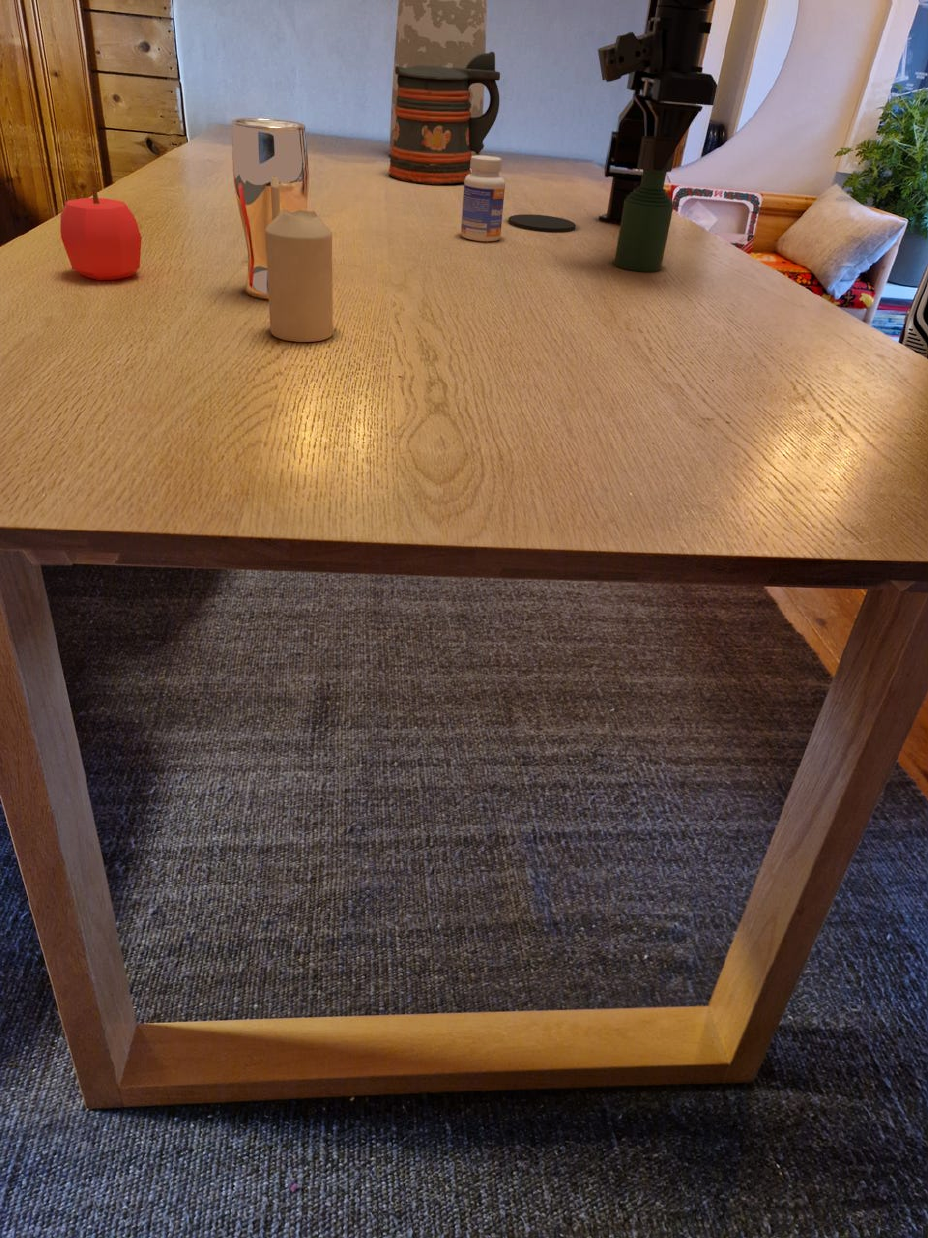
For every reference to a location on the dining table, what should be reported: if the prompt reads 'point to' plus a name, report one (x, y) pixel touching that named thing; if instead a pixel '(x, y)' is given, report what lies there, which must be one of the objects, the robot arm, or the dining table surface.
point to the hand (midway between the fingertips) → (654, 167)
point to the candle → (299, 276)
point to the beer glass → (267, 184)
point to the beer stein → (440, 120)
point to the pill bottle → (483, 200)
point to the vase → (440, 41)
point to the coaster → (542, 223)
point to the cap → (651, 156)
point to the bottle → (644, 225)
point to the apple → (101, 237)
